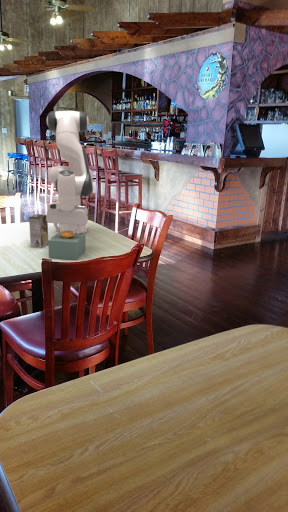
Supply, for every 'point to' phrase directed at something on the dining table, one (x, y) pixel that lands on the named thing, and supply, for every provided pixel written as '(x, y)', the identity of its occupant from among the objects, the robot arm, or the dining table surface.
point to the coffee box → (38, 230)
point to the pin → (67, 234)
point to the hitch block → (66, 247)
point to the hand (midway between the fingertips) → (67, 232)
